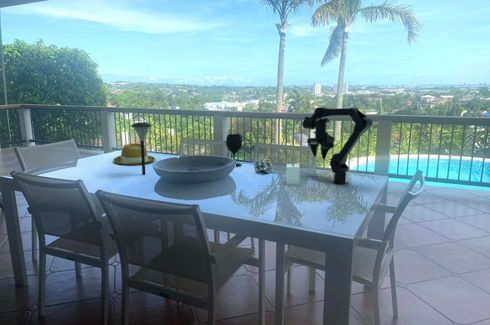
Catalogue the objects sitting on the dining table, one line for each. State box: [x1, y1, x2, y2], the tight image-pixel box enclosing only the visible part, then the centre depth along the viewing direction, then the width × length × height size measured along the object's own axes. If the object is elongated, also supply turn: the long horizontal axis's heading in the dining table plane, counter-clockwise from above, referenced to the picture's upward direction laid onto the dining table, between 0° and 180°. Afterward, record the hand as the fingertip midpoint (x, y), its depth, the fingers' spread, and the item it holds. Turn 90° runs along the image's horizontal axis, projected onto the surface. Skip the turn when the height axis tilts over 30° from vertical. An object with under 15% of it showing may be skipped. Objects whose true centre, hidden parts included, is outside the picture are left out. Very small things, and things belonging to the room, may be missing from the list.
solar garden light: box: [130, 121, 153, 176], centre depth 210 cm, size 12×12×30 cm
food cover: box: [285, 163, 301, 185], centre depth 196 cm, size 7×7×10 cm
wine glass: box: [225, 133, 243, 168], centre depth 239 cm, size 10×10×20 cm
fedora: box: [112, 142, 156, 166], centre depth 249 cm, size 27×29×12 cm
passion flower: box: [255, 156, 273, 174], centre depth 221 cm, size 11×11×12 cm
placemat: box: [275, 175, 310, 188], centre depth 202 cm, size 22×14×1 cm, turn 161°
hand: (319, 157), depth 206 cm, fingers open, 9 cm apart
